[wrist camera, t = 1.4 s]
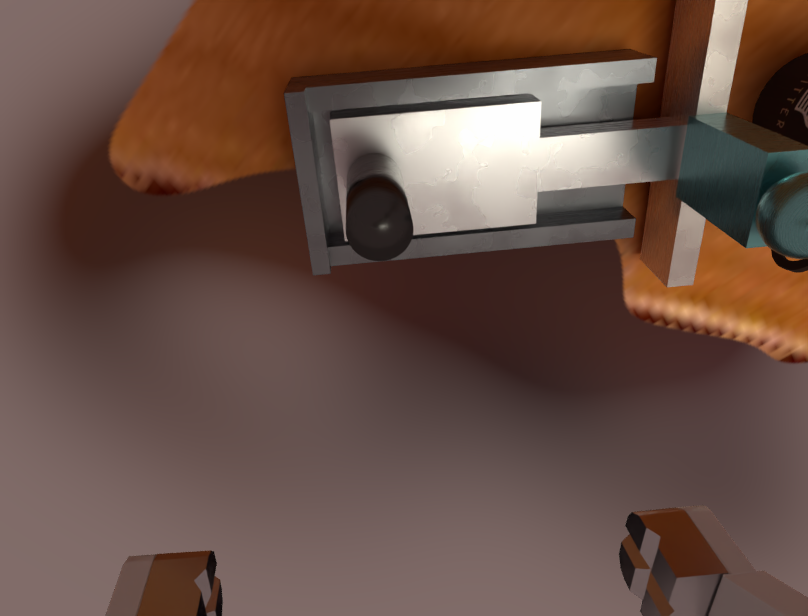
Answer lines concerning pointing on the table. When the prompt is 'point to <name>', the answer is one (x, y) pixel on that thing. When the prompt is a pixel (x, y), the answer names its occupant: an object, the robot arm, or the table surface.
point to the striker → (582, 161)
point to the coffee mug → (786, 119)
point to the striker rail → (540, 76)
